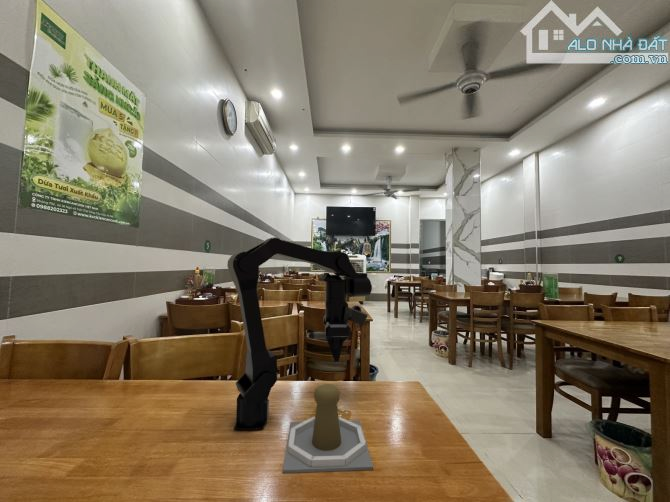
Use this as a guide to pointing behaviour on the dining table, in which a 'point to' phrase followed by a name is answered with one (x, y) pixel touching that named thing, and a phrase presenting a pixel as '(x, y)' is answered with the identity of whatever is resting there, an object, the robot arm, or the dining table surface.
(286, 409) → the dining table surface
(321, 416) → the olive brown pawn
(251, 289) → the robot arm
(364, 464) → the collar plate
